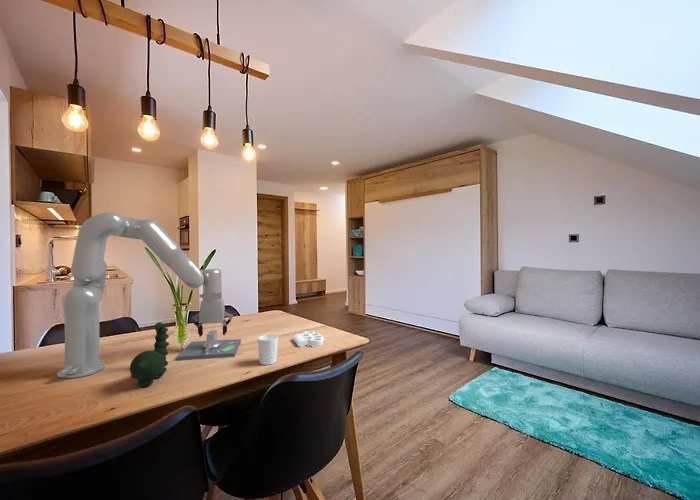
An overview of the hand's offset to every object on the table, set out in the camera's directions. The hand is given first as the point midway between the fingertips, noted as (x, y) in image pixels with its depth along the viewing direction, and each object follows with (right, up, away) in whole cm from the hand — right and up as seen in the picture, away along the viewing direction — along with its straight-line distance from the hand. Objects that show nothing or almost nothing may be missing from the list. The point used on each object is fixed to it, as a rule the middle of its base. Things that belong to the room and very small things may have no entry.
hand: (212, 335), depth 134 cm
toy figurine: (-8, -7, -29) cm, 31 cm away
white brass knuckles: (+41, -8, +13) cm, 44 cm away
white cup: (+28, -7, -13) cm, 32 cm away
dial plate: (0, -7, 0) cm, 7 cm away
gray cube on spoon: (0, -5, -3) cm, 6 cm away
